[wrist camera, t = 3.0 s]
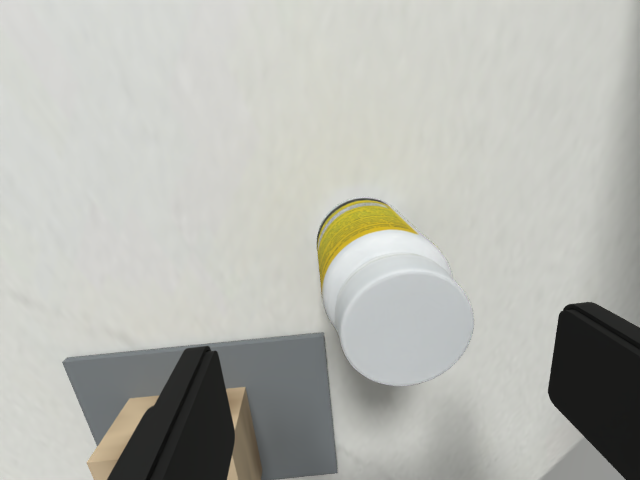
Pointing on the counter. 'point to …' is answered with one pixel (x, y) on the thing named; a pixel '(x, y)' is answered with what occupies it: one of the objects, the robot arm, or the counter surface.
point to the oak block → (101, 463)
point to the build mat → (238, 371)
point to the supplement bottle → (390, 294)
